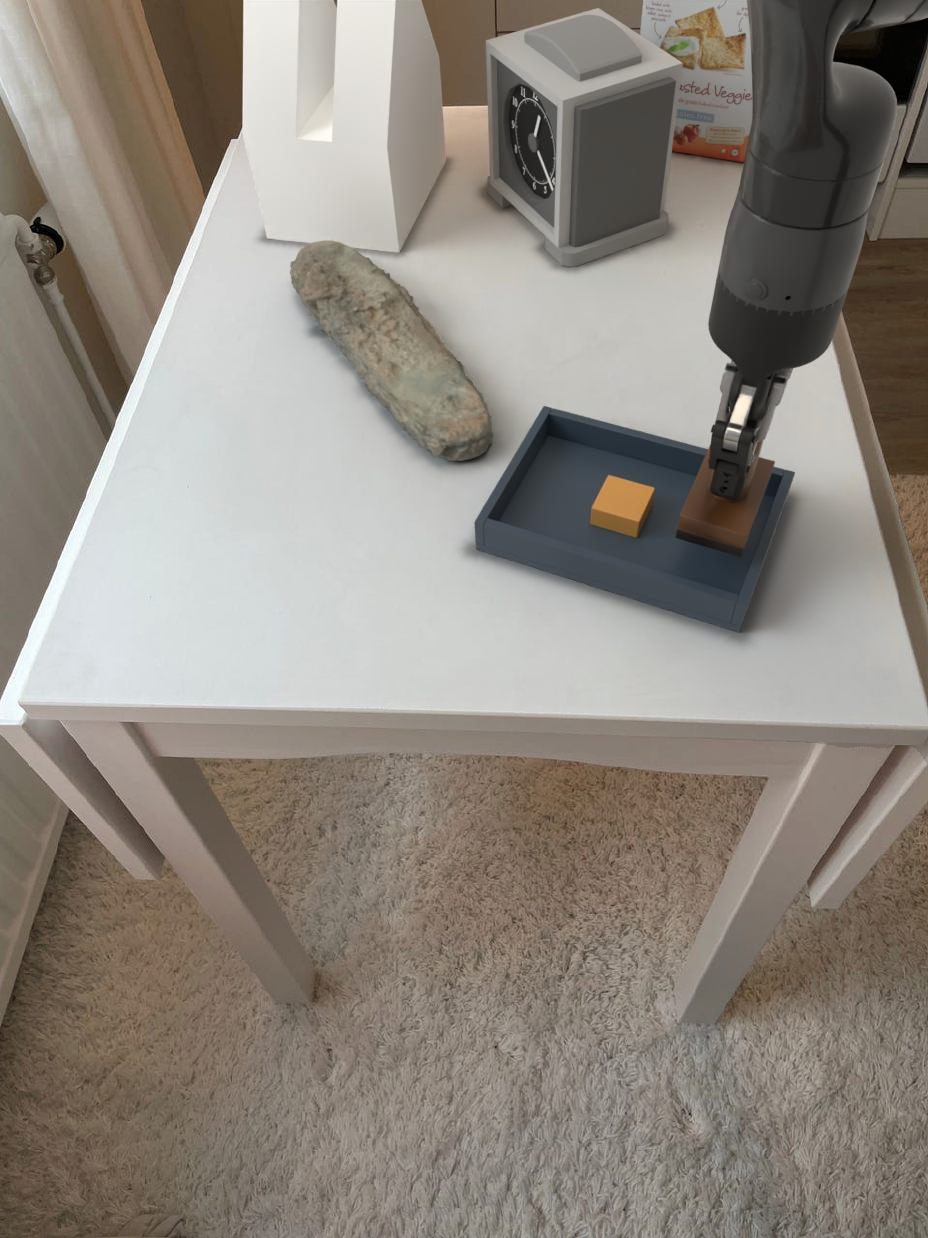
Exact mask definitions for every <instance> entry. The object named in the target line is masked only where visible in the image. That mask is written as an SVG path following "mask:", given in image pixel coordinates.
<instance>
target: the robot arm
mask: <svg viewBox="0 0 928 1238" xmlns="http://www.w3.org/2000/svg"><path fill="white" fill-rule="evenodd" d="M747 8H748V18H749V29H750V43H751V68H752V101H753V109H752V124H751V129H750V133H749V138H748V145H747V150H746V155H745V160H744V162H743V166H742V171H741V176H740V179H739V185H738V189H737V193H736V196H735V201H734V203H733V205H732V208H731V211H730V214H729V218H728V220H727V224H726V229H725V233H724V238H723V243H722V248H721V254H720V257H719V262H718V263H719V264H718V268H717V274H716V278H715V279H716V280H715V285H714V291H713V296H712V300H711V306H710V310H709V315H708V321H707V322H708V323H707V324H708V332H709V335H710V338H711V340H712V342H713V343H714V344H715V346H716V347H717V349H719V350H720V352H722V353H723V354H725V356H727V357H728V358H729V359H730V360H731V361H730V362H726V365H725V367H724V369H723V373H722V377H721V381H720V384H719V390H720V393H721V397H720V402H719V406H718V409H717V414H716V418H715V422H714V424H712V426H711V429H710V433H711V439H710V445H711V447H710V457H709V460H708V463H709V469H713V470H714V472H713V477H712V481H711V485H710V492H711V493H712V494H713V495H715V496H719V497H723V498H726V499H730V500H738V499H739V498H740V496H741V494H742V491H743V487H744V484H745V480H746V476H747V473H749V470H750V464H751V462H752V463H753V462H754V459H755V455H754V452H755V449H756V445H757V442H761V441H763V442H764V440H765V439H766V437H767V435H768V434H769V433H768V432H769V431H770V428H771V424H772V421H773V418H774V415H775V411H776V409H777V408H776V407H778V406H779V405H780V403H781V402H782V398H783V396H784V395H785V392H786V389H787V384H788V381H789V379H791V377H792V373H793V371H794V369H796V368H800V367H803V366H806V365H808V364H811V363H812V362H814V361H816V360H817V359H819V358H821V356H823V354H824V353H826V352H827V350H828V349H829V347H830V345H831V344H832V341H833V339H834V336H835V332H836V328H837V326H838V323H839V320H840V316H841V313H842V310H843V307H844V304H845V301H846V298H847V294H848V291H849V289H850V286H851V282H852V279H853V277H854V273H855V270H856V266H857V264H858V260H859V258H860V254H861V250H862V247H863V243H864V239H865V234H866V228H867V221H868V216H869V211H870V208H871V204H872V201H873V198H874V195H875V191H876V188H877V185H878V182H879V180H880V176H881V173H882V169H883V167H884V163H885V160H886V157H887V153H888V150H889V146H890V145H891V140H892V136H893V134H894V131H895V126H896V121H897V115H898V103H897V102H898V99H897V95H896V92H895V91H894V89H893V87H892V85H891V84H890V83H889V82H888V81H887V80H886V79H885V78H884V77H882V76H881V75H880V74H878V73H877V72H875V71H874V70H871V69H868V68H865V67H862V66H859V65H856V64H849V63H846V62H845V63H844V62H839V61H837V62H836V61H834V55H835V50H836V48H837V44H838V41H839V40H840V37H841V36H844V35H849V34H855V33H860V32H866V31H871V30H877V29H882V28H887V27H894V26H898V25H903V24H904V25H905V24H908V23H909V24H910V23H914V22H918V21H921V20H924V19H927V18H928V0H747ZM757 419H758V420H760V419H762V420H760V421H756V420H757Z"/></svg>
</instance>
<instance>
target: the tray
mask: <svg viewBox="0 0 928 1238" xmlns="http://www.w3.org/2000/svg"><path fill="white" fill-rule="evenodd" d="M708 449H709V448H706V447H703V446H702V447H701V446H698V445H694V444H690V443H687V442H682V441H678V440H676V439H671V438H668V437H663V436H660V435H656V434H652V433H649V432H644V431H640V430H637V429H633V428H630V427H626V426H623V425H622V426H621V425H618V424H615V423H610V422H607V421H603V420H599V419H595V418H592V417H588V416H585V415H580V414H576V413H574V412H573V413H572V412H570V411H569V412H568V411H565V410H560V409H558V408H554V407H551V406H547V405H543V406H542V408H541V409H540V411H539V413H538V415H537V416H536V418H535V419H534V421H533V423H532V425H531V426H530V428H529V430H528V431H527V433H526V435H525V437H523V439H522V442H521V443H520V445H519V447H518V449H517V450H516V451H515V453H514V454H513V456H512V458H511V460H510V462H509V463H508V465H507V467H506V468H505V470H504V471H503V473H502V475H501V477H500V478H499V480H498V481H497V484H496V485H495V487H494V488H493V490H492V492H491V494H490V495H489V497H488V498H487V500H486V502H485V504H484V505H483V507H482V508H481V510H480V512H479V514H478V515H477V517H476V518H475V520H474V522H473V523H474V537H475V549H476V550H477V551H481V552H484V553H487V554H489V555H494V556H497V557H500V558H503V559H506V560H510V561H512V562H515V563H519V564H522V565H525V566H528V567H531V568H534V569H538V570H541V571H545V572H547V573H551V574H554V575H557V576H560V577H563V578H566V579H570V580H572V581H576V582H579V583H582V584H585V585H588V586H592V587H595V588H596V589H597V588H598V589H601V590H604V591H607V592H610V593H613V594H617V595H620V596H622V597H627V598H630V599H632V600H636V601H639V602H642V603H645V604H648V605H651V606H655V607H657V608H660V609H664V610H668V611H670V612H673V613H676V614H680V615H682V616H686V617H689V618H692V619H695V620H699V621H702V622H705V623H708V624H710V625H714V626H717V627H720V628H724V629H727V630H731V631H732V632H733V631H734V632H736V633H739V632H740V631H741V629H742V627H743V623H744V620H745V617H746V615H747V612H748V609H749V606H750V603H751V600H752V597H753V595H754V592H755V589H756V588H757V587H756V586H757V583H758V581H759V578H760V576H761V573H762V569H763V567H764V565H765V562H766V559H767V555H768V553H769V550H770V547H771V544H772V541H773V539H774V537H775V536H774V535H775V533H776V530H777V528H778V524H779V523H780V519H781V516H782V513H783V511H784V509H785V505H786V503H787V499H788V496H789V493H790V489H791V487H792V484H793V481H794V478H795V474H796V471H793V470H789V469H785V468H782V467H777V466H774V467H773V471H772V474H771V477H770V481H769V484H768V487H767V490H766V492H765V495H764V498H763V500H762V503H761V506H760V509H759V511H758V514H757V517H756V520H755V522H754V525H753V528H752V530H751V533H750V536H749V539H748V541H747V544H746V547H745V549H744V552H743V555H742V557H738V556H735V555H731V554H728V553H725V552H721V551H718V550H714V549H711V548H708V547H704V546H701V545H697V544H694V543H691V542H687V541H684V540H680V539H677V538H675V537H676V532H677V527H678V522H679V517H680V514H681V512H682V509H683V507H684V505H685V502H686V500H687V498H688V495H689V493H690V491H691V488H692V486H693V484H694V481H695V479H696V477H697V474H698V472H699V470H700V467H701V465H702V463H703V460H704V458H705V456H706V453H707V451H708ZM608 475H611V476H615V477H618V478H622V479H625V480H629V481H632V482H636V483H639V484H643V485H647V486H650V487H654V488H655V493H654V499H653V505H652V507H651V509H650V512H649V514H648V516H647V518H646V520H645V522H644V525H643V527H642V529H641V531H640V533H639V535H638V537H637V538H635V537H631V536H628V535H625V534H621V533H618V532H615V531H611V530H608V529H605V528H601V527H598V526H594V525H591V524H590V521H591V509H592V506H593V504H594V502H595V500H596V498H597V496H598V494H599V492H600V490H601V488H602V486H603V484H604V482H605V480H606V479H607V477H608Z"/></svg>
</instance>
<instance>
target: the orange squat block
mask: <svg viewBox="0 0 928 1238" xmlns="http://www.w3.org/2000/svg"><path fill="white" fill-rule="evenodd" d="M654 493H655V488H654V487H650V486H647V485H643V484H639V483H636V482H632V481H629V480H625V479H622V478H618V477H615V476H611V475H608V477H607V479H606V480H605V482H604V484H603V486H602V488H601V490H600V492H599V494H598V496H597V498H596V500H595V502H594V504H593V506H592V509H591V521H590V524H591V525H594V526H598V527H601V528H605V529H608V530H611V531H615V532H618V533H621V534H625V535H628V536H631V537H635V538H637V537H638V535H639V533H640V531H641V529H642V527H643V525H644V522H645V520H646V518H647V516H648V514H649V512H650V509H651V507H652V505H653V499H654Z"/></svg>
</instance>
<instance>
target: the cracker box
mask: <svg viewBox="0 0 928 1238" xmlns="http://www.w3.org/2000/svg"><path fill="white" fill-rule="evenodd" d="M640 20H641V21H640V31H639V35H641V36H642V37H644V38H645V39H647V40H648V41H650V42H651V43H653V44H654V45H656V46H657V47H659V48H660V49H662V50H664V51H665V52H667V53H668V54H670V55H671V56H673V57H674V58H676V59H677V60H679V61H680V62H682V63H683V66H682V74H681V82H680V90H679V98H678V106H677V114H676V122H675V130H674V137H673V145H672V152H676V153H683V154H689V155H695V156H702V157H708V158H714V159H720V160H727V161H733V162H739V163H744V160H745V155H746V150H747V145H748V138H749V133H750V129H751V124H752V109H753V101H752V68H751V43H750V29H749V18H748V8H747V0H642V10H641V19H640Z"/></svg>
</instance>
